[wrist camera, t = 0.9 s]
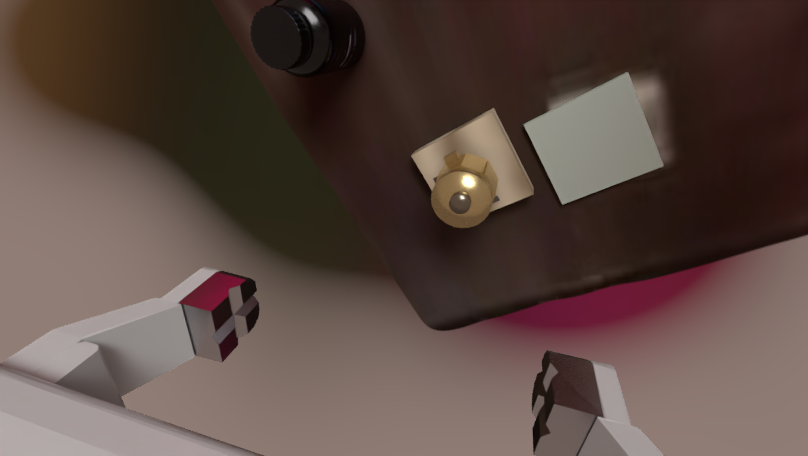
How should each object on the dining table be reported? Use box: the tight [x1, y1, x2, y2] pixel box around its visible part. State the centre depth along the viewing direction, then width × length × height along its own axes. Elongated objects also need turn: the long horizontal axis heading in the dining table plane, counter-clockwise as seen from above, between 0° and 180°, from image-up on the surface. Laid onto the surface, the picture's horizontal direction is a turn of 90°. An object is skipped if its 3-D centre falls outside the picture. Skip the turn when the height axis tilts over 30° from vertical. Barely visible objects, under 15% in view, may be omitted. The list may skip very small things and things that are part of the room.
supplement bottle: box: [250, 0, 365, 77], centre depth 36 cm, size 7×7×12 cm
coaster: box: [524, 72, 664, 205], centre depth 39 cm, size 10×10×1 cm
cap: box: [431, 150, 498, 228], centre depth 38 cm, size 6×7×6 cm
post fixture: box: [411, 108, 534, 227], centre depth 40 cm, size 10×10×8 cm
